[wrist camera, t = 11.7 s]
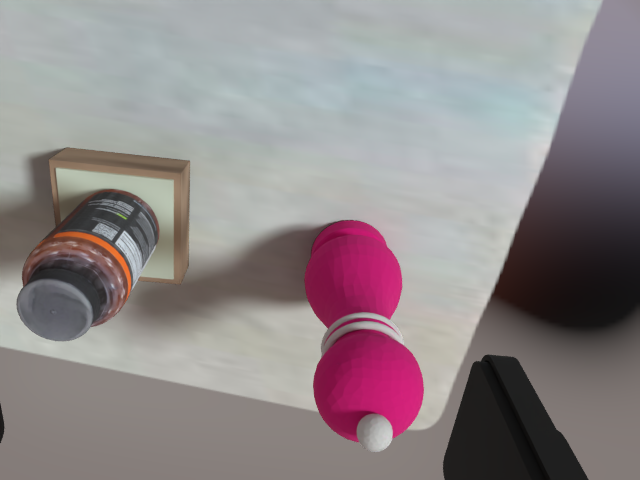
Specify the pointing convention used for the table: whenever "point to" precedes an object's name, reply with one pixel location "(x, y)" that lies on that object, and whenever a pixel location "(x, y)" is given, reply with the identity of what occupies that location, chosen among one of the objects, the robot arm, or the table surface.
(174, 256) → the base
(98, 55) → the table surface
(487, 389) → the robot arm
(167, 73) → the table surface
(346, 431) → the pepper mill
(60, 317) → the supplement bottle
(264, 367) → the table surface
